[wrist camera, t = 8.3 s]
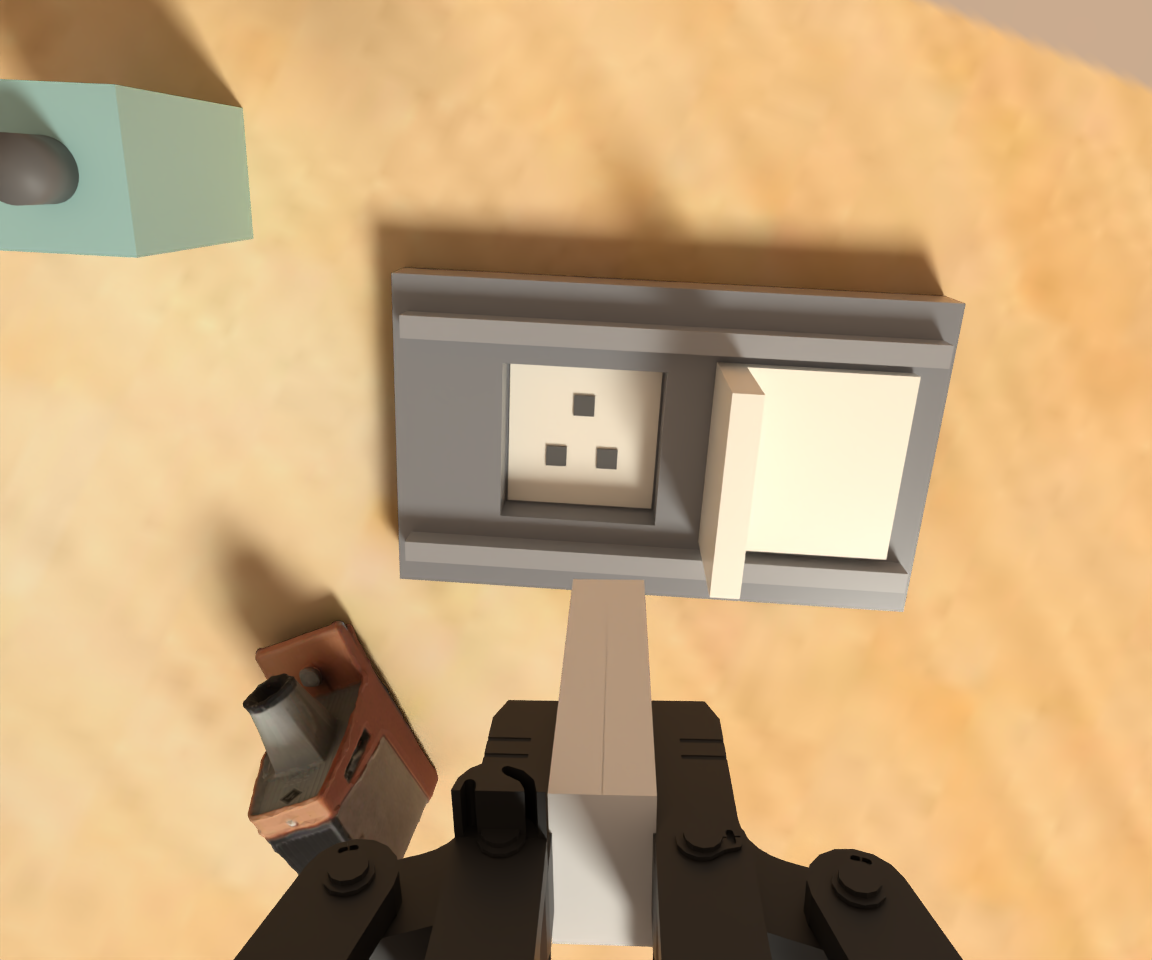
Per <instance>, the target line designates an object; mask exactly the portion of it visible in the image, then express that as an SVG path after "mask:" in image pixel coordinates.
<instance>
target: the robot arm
mask: <svg viewBox="0 0 1152 960" xmlns="http://www.w3.org/2000/svg"><path fill="white" fill-rule="evenodd" d="M451 795H452V807H453V820H454V833H455V838H454V839H452V840H451V841H450V842H449V843H447V844H445V845H443V846H441V847H440V848H438V849H436V850H433V851H430V852H427V853H424V854H420V855H416V856H412V857H407V858H403V859H399V860H397V856H396V855H395V854H394V852H393V851H392V850H391V849H390V848H389V847H388V846H387V845H385V844H382V843H380V842H378V841H375V840H367V839H354V840H349V841H345V842H340V843H337V844H335V845H333V846H331V847H329V848H327V849H325V850H323V851H322V852H320V853H319V854H318V855H317V856H316V857H315V858H314V859H313V860H311V861H310V862H309V863H308V864H307V865H306V867H305V868H304V869H303V871H302V872H301V873H300V874H299V876H298V877H297V878H296V880H295V881H294V882H293V884H292V885H291V886H290V887H289V889H288V890H287V891H286V893H285V894H284V895H283V896H282V898H281V899H280V900H279V902H278V903H277V904H276V906H275V907H274V908H273V909H272V911H271V912H270V913H269V915H268V916H267V917H266V918H265V920H264V921H263V922H262V924H261V925H260V926H259V928H258V929H257V930H256V931H255V933H254V934H253V935H252V937H251V938H250V939H249V941H248V942H247V943H246V944H245V946H244V947H243V948H242V950H241V951H240V952H239V953H238V955H237V956H236V957H235V959H234V960H551V942H552V943H554V944H586V945H617V946H649V947H653V960H963V959H962V958H961V956H960V955H959V954H958V952H957V951H956V949H955V948H954V947H953V945H952V944H951V942H950V941H949V940H948V938H947V937H946V935H945V934H944V933H943V931H942V930H941V928H940V927H939V926H938V924H937V923H936V921H935V920H934V919H933V917H932V916H931V914H930V913H929V912H928V910H927V909H926V907H925V906H924V905H923V903H922V902H921V900H920V899H919V898H918V896H917V895H916V893H915V892H914V891H913V889H912V888H911V886H910V885H909V884H908V882H907V881H906V879H905V878H904V877H903V876H902V875H901V874H900V873H899V872H898V871H897V870H896V869H895V868H894V867H893V866H892V865H891V864H889V863H887V862H886V861H884V860H882V859H880V858H879V857H877V856H875V855H873V854H870V853H866V852H862V851H859V850H855V849H834V850H831V851H829V852H826V853H823V854H820V855H819V856H818V857H817V858H816V859H815V860H814V861H813V862H812V863H811V864H810V866H809V868H808V867H804V866H800V865H797V864H793V863H790V862H786V861H784V860H781V859H778V858H776V857H773V856H771V855H769V854H767V853H766V852H764V851H762V850H761V849H759V848H758V847H757V846H755V845H754V844H753V843H752V842H751V841H750V840H749V839H748V838H747V836H746V834H745V832H744V830H743V829H741V827H740V824H739V821H738V817H737V811H736V806H735V801H734V795H733V790H732V784H731V779H730V773H729V768H728V762H727V760H726V752H725V746H724V743H723V735H722V730H721V724H720V719H719V718H718V717H717V716H716V714H715V713H714V712H713V711H712V710H711V709H710V707H709V706H708V705H707V704H706V703H705V702H703V701H651V687H650V670H649V653H648V637H647V620H646V603H645V586H644V580H599V579H573V583H572V592H571V600H570V609H569V617H568V626H567V634H566V642H565V651H564V659H563V668H562V676H561V685H560V693H559V701H526V700H508V701H507V702H506V704H505V705H504V706H503V707H502V708H501V709H500V710H499V711H498V712H497V713H496V715H495V716H494V717H493V720H492V724H491V728H490V732H489V736H488V741H487V745H486V749H485V756H484V758H483V762H482V764H480V765H478V766H475V767H472V768H470V769H469V770H468V771H466V772H465V773H464V774H462V775H461V776H460V777H459V778H458V779H457V781H456V782H455V784H454V786H453V788H452V789H451Z"/></svg>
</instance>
